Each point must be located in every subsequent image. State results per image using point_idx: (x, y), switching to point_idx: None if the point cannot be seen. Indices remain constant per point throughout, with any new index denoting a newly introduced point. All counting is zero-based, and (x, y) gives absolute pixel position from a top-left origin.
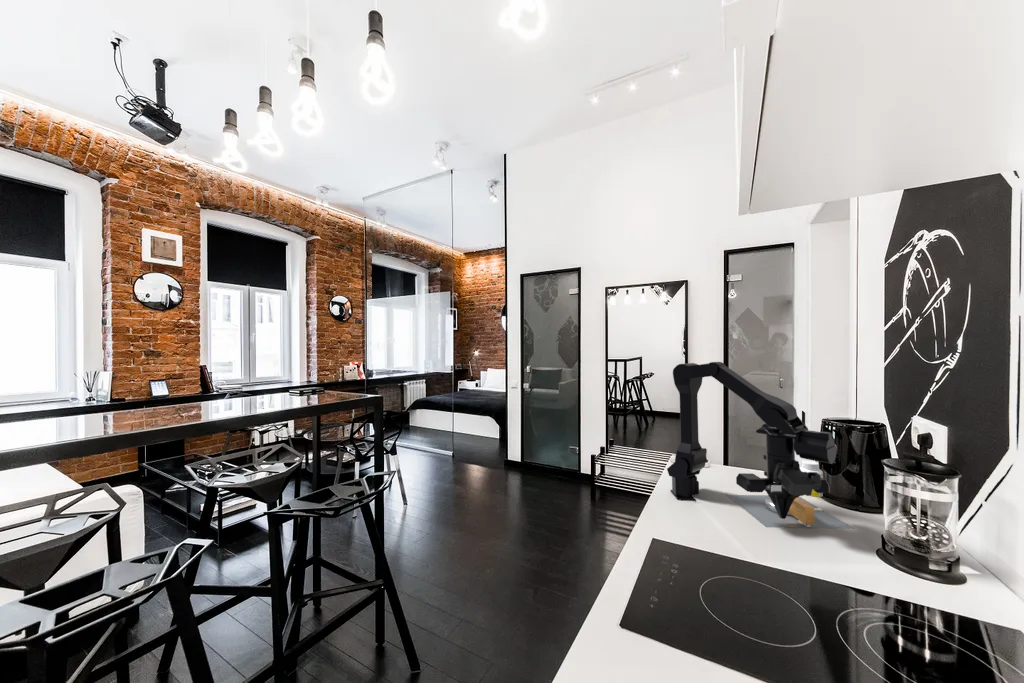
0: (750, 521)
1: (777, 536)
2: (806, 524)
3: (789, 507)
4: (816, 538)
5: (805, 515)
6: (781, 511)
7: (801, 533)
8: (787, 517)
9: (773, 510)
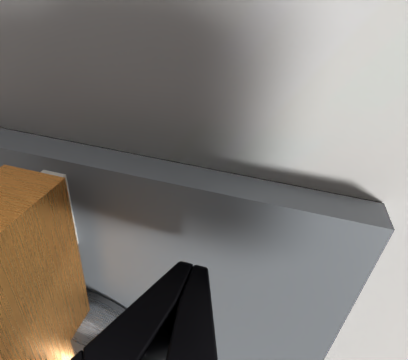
0: (345, 322)
1: (358, 131)
2: None
3: (100, 341)
4: (74, 64)
5: (9, 223)
6: (201, 323)
7: (134, 144)
8: (118, 286)
9: None
